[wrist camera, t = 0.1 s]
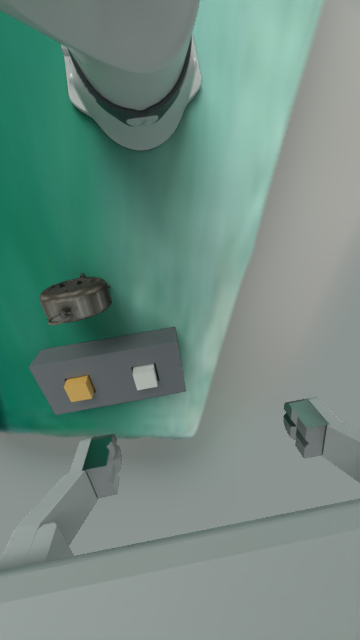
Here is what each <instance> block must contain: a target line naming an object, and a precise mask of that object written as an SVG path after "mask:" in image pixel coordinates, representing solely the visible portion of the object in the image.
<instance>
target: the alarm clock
mask: <svg viewBox="0 0 360 640" xmlns="http://www.w3.org/2000/svg"><path fill="white" fill-rule="evenodd" d="M108 288H110V285H107V283H106V282H105V281H104V280H103V279H101V278H97V277H85V278H84V273H82V274H81V276H80V278H78V279H73V280H68V281H65V282H61V283H58V284H55V285H51V287H49V288H47V289H46V290H44V291H43V292H42V293H41V295H40V302H41V305H42V307H43V309H44V312H45V314H46V316H47V319H48V320H49V321H48V324H50V325H58V324H61V323H67V322H74V321H78V320H82V319H86V318H89V317H92V316H95V315H97V314H99V313H101V312H103V311H104V310H106V309H107V308H108V307H109V306H110V305H111V303H112V300H111V297H110V294H109V290H108ZM51 322H55V323H51Z"/></svg>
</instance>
